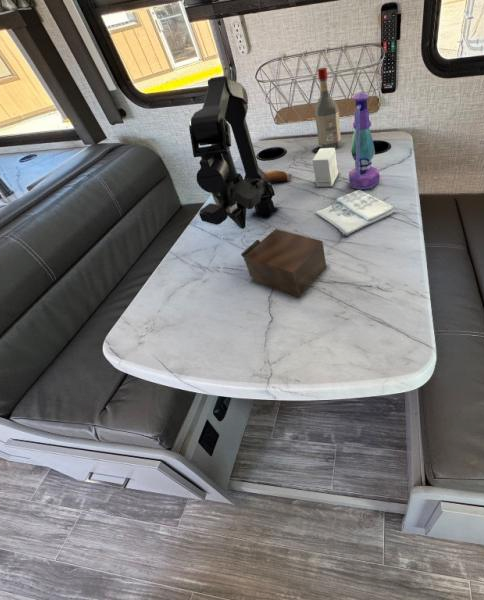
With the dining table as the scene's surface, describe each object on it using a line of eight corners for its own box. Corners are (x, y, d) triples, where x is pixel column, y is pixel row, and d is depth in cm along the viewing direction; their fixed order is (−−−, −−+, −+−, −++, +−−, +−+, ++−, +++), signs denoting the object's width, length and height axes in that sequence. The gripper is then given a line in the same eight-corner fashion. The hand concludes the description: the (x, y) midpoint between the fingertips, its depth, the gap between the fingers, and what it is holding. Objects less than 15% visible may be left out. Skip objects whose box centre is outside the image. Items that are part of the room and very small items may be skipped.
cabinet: (253, 281, 93) (244, 256, 87) (282, 253, 101) (275, 228, 94) (299, 298, 86) (292, 272, 80) (326, 266, 94) (322, 240, 87)
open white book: (395, 213, 108) (396, 207, 106) (344, 237, 102) (344, 232, 100) (360, 192, 120) (360, 187, 119) (312, 213, 114) (311, 208, 113)
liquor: (342, 147, 151) (336, 68, 130) (323, 152, 150) (314, 73, 129) (336, 140, 157) (329, 64, 136) (318, 145, 156) (308, 69, 135)
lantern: (354, 174, 131) (349, 86, 110) (383, 176, 127) (384, 85, 106) (343, 191, 123) (336, 99, 102) (374, 193, 119) (373, 98, 98)
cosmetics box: (322, 174, 135) (319, 147, 127) (338, 174, 133) (335, 147, 126) (315, 186, 128) (311, 159, 121) (331, 187, 126) (328, 159, 119)
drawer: (239, 272, 95) (231, 253, 90) (266, 247, 102) (260, 228, 97) (292, 291, 87) (287, 271, 82) (317, 263, 94) (314, 243, 89)
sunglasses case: (288, 172, 139) (285, 161, 132) (290, 187, 137) (287, 177, 131) (246, 178, 140) (241, 168, 134) (247, 193, 138) (242, 183, 132)
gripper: (221, 196, 71) (242, 255, 82) (274, 160, 81) (286, 216, 92) (186, 188, 76) (211, 244, 87) (240, 155, 86) (256, 209, 97)
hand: (243, 228), depth 91 cm, fingers closed
